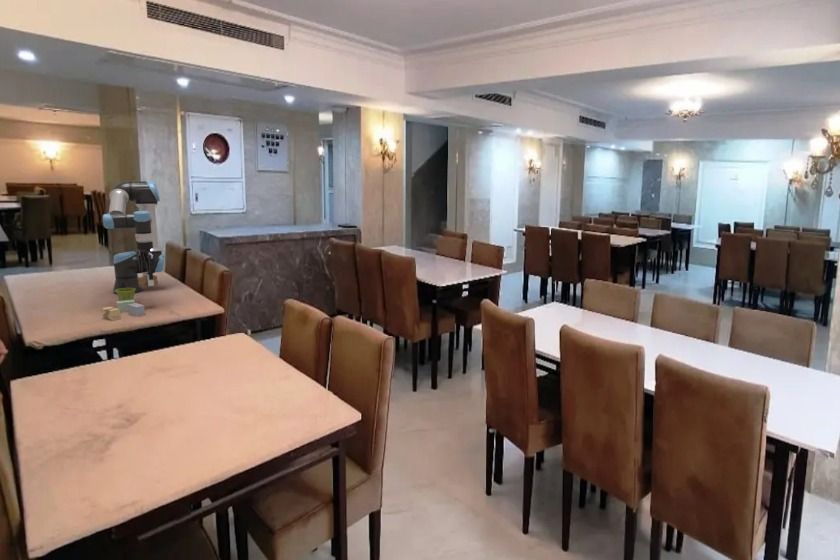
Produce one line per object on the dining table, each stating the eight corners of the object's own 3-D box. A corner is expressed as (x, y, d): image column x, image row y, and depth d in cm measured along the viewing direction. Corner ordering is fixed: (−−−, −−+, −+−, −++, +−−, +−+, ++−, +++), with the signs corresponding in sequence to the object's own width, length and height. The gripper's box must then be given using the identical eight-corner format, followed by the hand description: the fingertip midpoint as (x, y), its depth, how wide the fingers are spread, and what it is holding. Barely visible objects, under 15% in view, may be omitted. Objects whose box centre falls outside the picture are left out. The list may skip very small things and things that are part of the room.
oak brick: (103, 318, 249) (101, 308, 248) (111, 316, 253) (110, 306, 251) (112, 320, 245) (111, 310, 244) (120, 318, 249) (119, 309, 248)
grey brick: (128, 314, 257) (127, 304, 256) (136, 312, 260) (135, 302, 259) (137, 316, 253) (136, 307, 252) (145, 315, 256) (144, 305, 255)
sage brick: (117, 312, 259) (116, 303, 258) (117, 310, 262) (116, 301, 261) (135, 310, 263) (134, 301, 262) (134, 308, 267) (133, 299, 266)
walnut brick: (143, 287, 263) (142, 278, 262) (138, 286, 265) (137, 277, 264) (157, 285, 270) (157, 275, 269) (153, 284, 272) (152, 275, 271)
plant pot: (123, 302, 277) (122, 287, 275) (140, 303, 277) (139, 287, 275) (113, 307, 268) (111, 291, 266) (130, 307, 268) (128, 291, 266)
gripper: (128, 240, 264) (133, 283, 269) (145, 243, 254) (149, 288, 260) (143, 238, 270) (147, 281, 275) (160, 242, 260) (164, 286, 266)
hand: (148, 284), depth 267 cm, fingers closed on walnut brick, 4 cm apart
